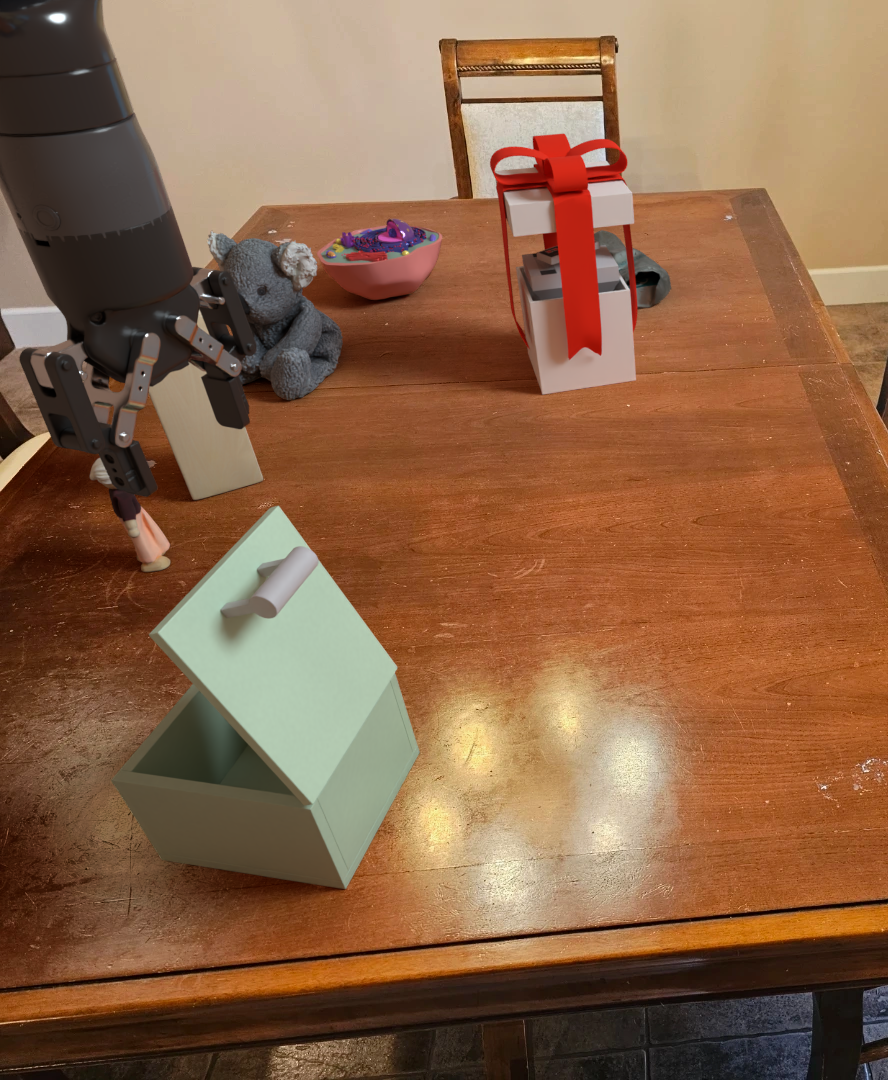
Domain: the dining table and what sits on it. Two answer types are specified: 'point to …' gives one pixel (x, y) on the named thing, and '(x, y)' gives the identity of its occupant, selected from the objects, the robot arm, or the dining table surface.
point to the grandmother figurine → (135, 523)
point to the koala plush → (280, 313)
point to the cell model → (382, 259)
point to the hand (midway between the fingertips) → (190, 457)
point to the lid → (279, 653)
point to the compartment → (263, 795)
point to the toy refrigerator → (202, 435)
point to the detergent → (638, 271)
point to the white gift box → (570, 262)
